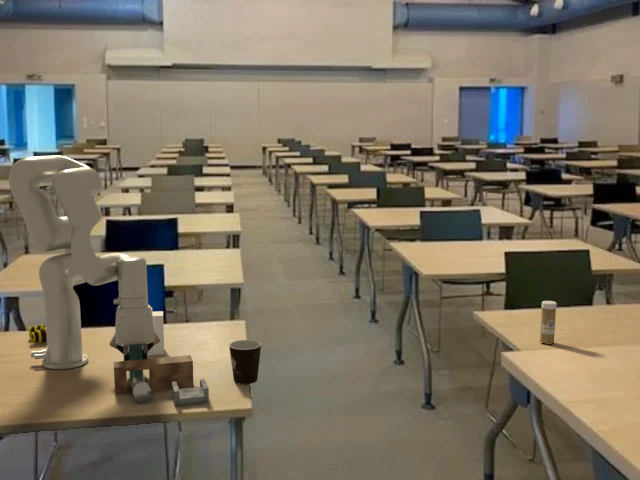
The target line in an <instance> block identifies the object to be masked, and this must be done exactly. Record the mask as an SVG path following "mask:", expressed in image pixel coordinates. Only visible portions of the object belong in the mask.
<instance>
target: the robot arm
mask: <svg viewBox="0 0 640 480" xmlns="http://www.w3.org/2000/svg"><path fill="white" fill-rule="evenodd" d="M8 185H9V189H10V192H11V194H12V196H13V198H14V201H16V203H17V205H18V208H19V209H20V213H21V214H22V217H23V220H24V223H25V225H26V228H27V231H28V234H29V236H30V240H31V242H32V244H33V246H34V248H35V249H36V250H37V251H38V252H39V253H44V254H46V253H49V254H50V253H55V252H58V251H64V253H62V254H58V255H54V256H50V257H49V258H46V259H45V260H44V261H42V263H41V264H40V266H39V270H38V277H39V281H40V284H41V289H42V294H43V299H44V300H43V301H44V303H43V304H44V314H45V315H44V316H45V328H46V331H45V332H46V336H47V343H46V348H44V349H42V350H30V357H31V359H35V360H40V359H42V360H41V363H42V366H43V367H44V368H45V369H48V370H49V369H51V370H69V369H74V368H77V367H80V366H83V365H85V364H87V362H88V361H89V355H87V354H85V353H83V340H82V338H83V337H82V321H81V317H82V316H81V304H80V299H79V296H78V294H77V293H76V290H74V286H78V285H81V284H85V283H87V284H89V285H90V286H101V285H105V284H108V283H111V282H115V281H117V282H118V297H117V298H114V299H113V305H118V306H117V307H116V312H115V326H114V329H115V332H114V334H113V335H112V337H111V339H110V341H109V342H108V343H109V346H110V347H111V348H114V349H116V350H117V351H119V352H120V353H121V354H122V355H123V361H129V353H128V345H136V344H142V345H143V349H142V353H143V359H148V355H147V353H148V351H149V350H150V349H151V348H152V347H153V346H154V345H156V344H157V343H159V342H160V338H159V337H158V335H157V334H156V332H155V331H154V323H153V314H152V312H153V308H152V309H151V305H150V304H149V298H148V297H149V296H148V293H149V292H148V272H147V266H148V264H147V260H146V258H144V257H143V256H138V255H137V256H136V255H134V256H133V255H127V254H125V253H122V252H111V253H107V254H103V255H99V256H97V255H96V252H95V251H94V249H93V246H92V242H91V234H92V231H93V229H94V227H95V226H97V225H98V224H99V223H100V222H101V220H102V217H103V216H102V212H101V211H100V209H99V207H98V205H97V203H96V201H95V199H94V197H95V196H97V195H98V194H100V192H101V190H102V187H103V182H102V178H101V176H100V174H99V173H98V172H97V171H96V170H95V168H94V169H93V168H92V167H90V166H88V165H87V164H84V163H81V162H79V161H76V160H74V159H72V158H70V157H67V156H64V155H60V154H59V155H54V154H53V155H40V156H39V155H38V156H37V155H36V156H28V157H23V158H21V159H19V160H17V161H15V162H14V163H13V164H12V166H11V168H10V170H9V175H8ZM45 186H46V187H47V186H52V189H53V191H54V194H55V196H56V197H57V200H58V202H59V203H60V206H61V208H62V210H63V211H64V213H65V215H66V216H58V215H57V213H56V211H55V209H54V205H53V203H52V201H51V200H50V198H49V197H48V196H47V195H46V194H45V192H43V191H42V190H41V189H40V188H41V187H45ZM147 343H148V344H147Z"/></svg>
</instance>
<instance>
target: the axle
mask: <svg viewBox="0 0 640 480" xmlns="http://www.w3.org/2000/svg"><path fill="white" fill-rule="evenodd" d="M131 390H132V396H133V399H134V401H135V402H136V403H137V404H141V405H144V404H146V403H147V404H148V402H150V401H151V400H152V397H153V391H151V387H150V382H149V378H147V377H146V376H145V375H143V376H138V377H136V378H132V381H131Z"/></svg>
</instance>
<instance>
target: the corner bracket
mask: <svg viewBox="0 0 640 480" xmlns="http://www.w3.org/2000/svg"><path fill="white" fill-rule="evenodd" d="M151 309H152V310H153V307H151ZM152 314H153V323H154V331H155V332H156V334H157V335H158V337H159V338H160V342H159V343H157V344H156V345H154V346H153V347H152V348H151V349H150V350H149V351H148V353H147V356H156V355H157V356H159V355H165V337H164V335H165V331H164V311H163V310H162V311H161V310H159V311H152ZM147 344H148V343H147ZM142 349H143V345H142Z"/></svg>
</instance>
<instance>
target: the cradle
mask: <svg viewBox="0 0 640 480" xmlns="http://www.w3.org/2000/svg"><path fill="white" fill-rule="evenodd" d="M209 393H210V390H209V386H208V383H207V381H206V379H205V378H200V379H199V386H193V387H190V388H180V389H179V388H178V385H177V382H172V389H171V399H172V402H173V406H174V408H178V407H189V406H198V405H208V404H210V395H209Z"/></svg>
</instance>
